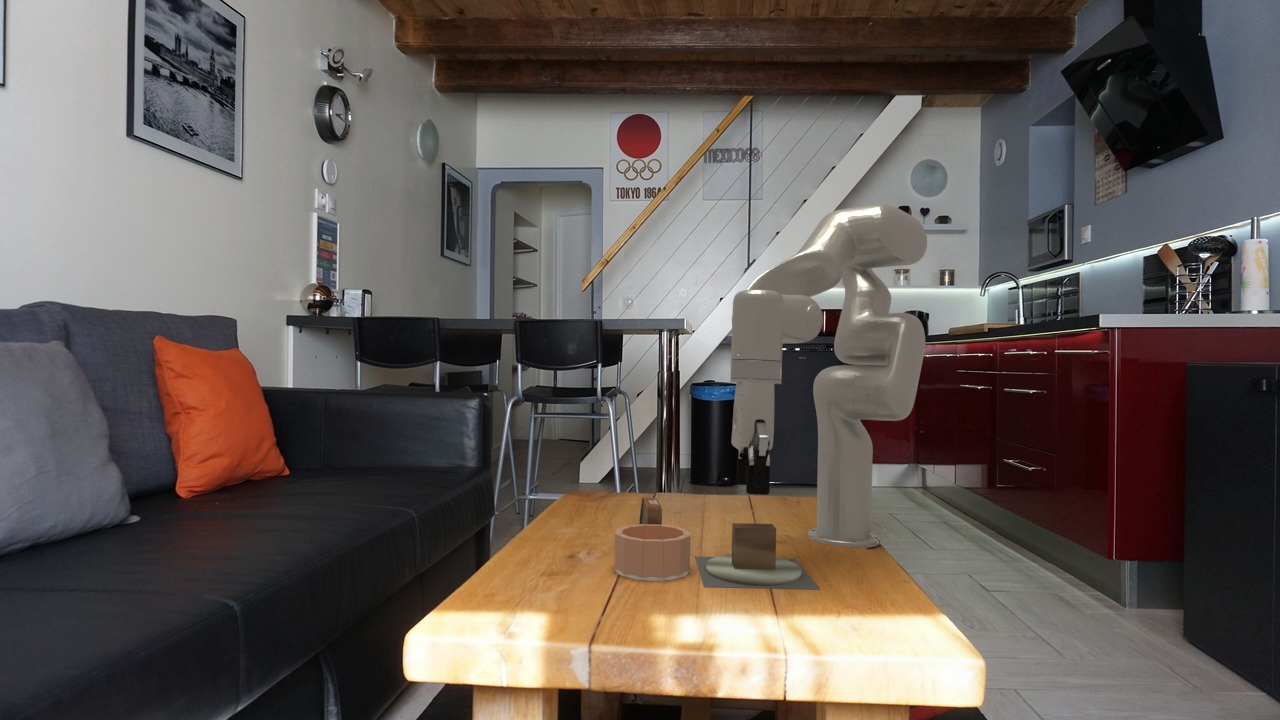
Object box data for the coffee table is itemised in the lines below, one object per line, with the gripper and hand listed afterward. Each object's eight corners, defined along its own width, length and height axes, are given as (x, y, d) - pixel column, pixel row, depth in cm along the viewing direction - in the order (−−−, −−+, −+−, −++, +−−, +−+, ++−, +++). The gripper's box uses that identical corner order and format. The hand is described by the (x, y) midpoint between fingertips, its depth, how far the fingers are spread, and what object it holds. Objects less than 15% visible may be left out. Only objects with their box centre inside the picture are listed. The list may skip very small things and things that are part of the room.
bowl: (616, 562, 111) (616, 523, 111) (686, 563, 111) (687, 525, 111) (613, 583, 100) (614, 540, 100) (691, 584, 100) (692, 541, 100)
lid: (701, 558, 112) (702, 515, 112) (790, 560, 112) (791, 517, 112) (710, 584, 98) (711, 535, 98) (811, 587, 98) (812, 537, 98)
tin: (637, 540, 126) (638, 492, 126) (655, 540, 126) (656, 492, 126) (642, 562, 111) (643, 508, 111) (662, 562, 111) (663, 508, 111)
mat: (694, 559, 113) (695, 556, 113) (795, 561, 113) (795, 558, 113) (703, 590, 97) (704, 586, 97) (820, 592, 97) (820, 589, 97)
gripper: (723, 373, 114) (720, 480, 114) (738, 371, 97) (734, 497, 96) (770, 375, 114) (767, 482, 114) (793, 373, 97) (789, 499, 96)
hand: (752, 489), depth 105 cm, fingers open, 9 cm apart
